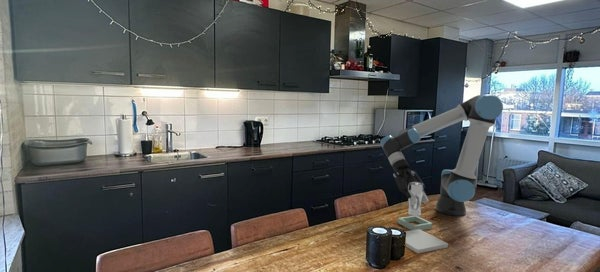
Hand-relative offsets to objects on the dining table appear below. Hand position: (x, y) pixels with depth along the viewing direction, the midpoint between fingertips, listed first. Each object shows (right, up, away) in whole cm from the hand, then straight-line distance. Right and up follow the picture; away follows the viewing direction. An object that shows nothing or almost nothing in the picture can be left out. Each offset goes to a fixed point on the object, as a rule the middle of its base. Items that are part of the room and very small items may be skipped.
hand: (420, 203), depth 148 cm
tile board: (-6, -14, -14) cm, 21 cm away
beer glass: (-1, -6, +4) cm, 8 cm away
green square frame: (-1, -12, +4) cm, 13 cm away
